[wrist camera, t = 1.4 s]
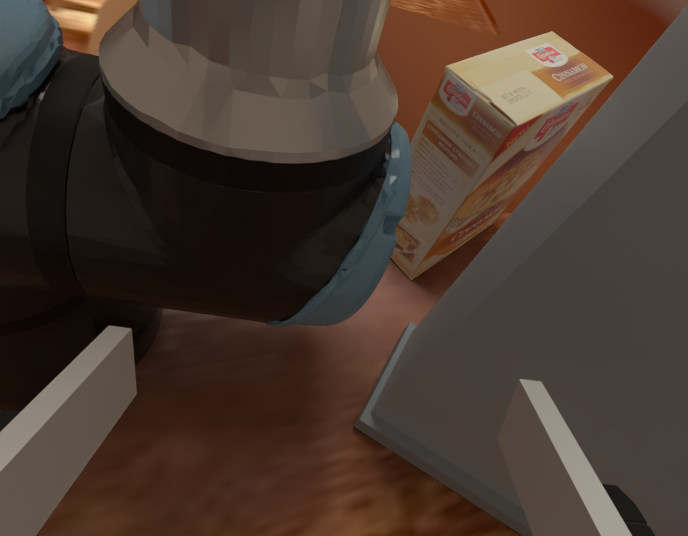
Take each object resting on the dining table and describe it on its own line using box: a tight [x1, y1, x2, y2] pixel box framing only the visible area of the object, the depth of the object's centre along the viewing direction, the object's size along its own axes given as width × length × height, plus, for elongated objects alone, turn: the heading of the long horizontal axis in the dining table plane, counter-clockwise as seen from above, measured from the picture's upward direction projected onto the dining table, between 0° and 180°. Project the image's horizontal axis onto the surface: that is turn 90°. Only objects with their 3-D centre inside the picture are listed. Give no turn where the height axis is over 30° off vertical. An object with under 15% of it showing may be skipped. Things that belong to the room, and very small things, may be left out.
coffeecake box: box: [391, 31, 613, 280], centre depth 41 cm, size 15×7×20 cm, turn 130°
